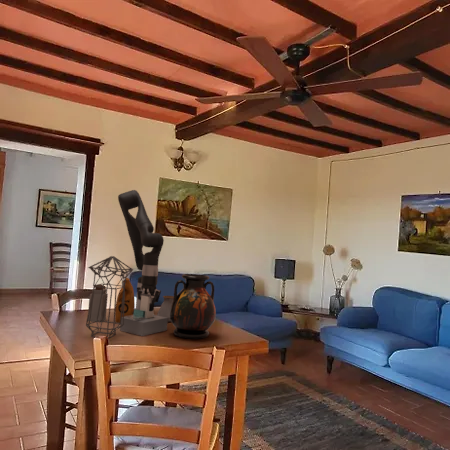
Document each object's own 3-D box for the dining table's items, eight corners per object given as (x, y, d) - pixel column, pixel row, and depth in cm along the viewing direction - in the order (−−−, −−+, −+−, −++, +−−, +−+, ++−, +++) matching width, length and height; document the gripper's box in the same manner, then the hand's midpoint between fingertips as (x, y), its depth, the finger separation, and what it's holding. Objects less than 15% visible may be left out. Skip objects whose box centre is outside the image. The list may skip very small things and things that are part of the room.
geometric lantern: (96, 330, 185) (104, 254, 187) (128, 334, 182) (136, 257, 184) (77, 337, 170) (87, 254, 171) (112, 342, 167) (121, 258, 168)
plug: (146, 315, 195) (147, 292, 196) (153, 317, 193) (155, 294, 193) (139, 316, 191) (141, 293, 192) (146, 318, 189) (148, 294, 189)
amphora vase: (171, 341, 174) (176, 276, 175) (165, 329, 195) (169, 271, 196) (219, 341, 180) (224, 278, 181) (208, 330, 201) (212, 273, 202)
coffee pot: (157, 322, 210) (159, 293, 210) (155, 318, 221) (157, 290, 221) (197, 323, 215) (199, 295, 215) (193, 318, 226) (195, 292, 226)
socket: (145, 325, 202) (146, 313, 202) (166, 330, 194) (167, 317, 194) (119, 330, 187) (120, 317, 187) (142, 336, 180) (143, 322, 180)
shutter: (134, 316, 190) (135, 308, 190) (145, 319, 186) (146, 311, 186) (124, 318, 184) (125, 310, 185) (135, 321, 181) (136, 312, 181)
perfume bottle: (105, 319, 207) (108, 284, 208) (100, 322, 201) (103, 286, 201) (93, 318, 208) (95, 283, 209) (87, 321, 201) (90, 285, 202)
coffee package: (111, 323, 200) (115, 279, 201) (116, 318, 212) (119, 276, 213) (132, 324, 201) (135, 280, 202) (135, 319, 213) (138, 277, 214)
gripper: (133, 273, 193) (130, 308, 193) (155, 276, 186) (152, 313, 185) (144, 272, 200) (141, 307, 199) (166, 275, 192) (163, 311, 192)
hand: (147, 310), depth 192 cm, fingers closed on plug, 4 cm apart
